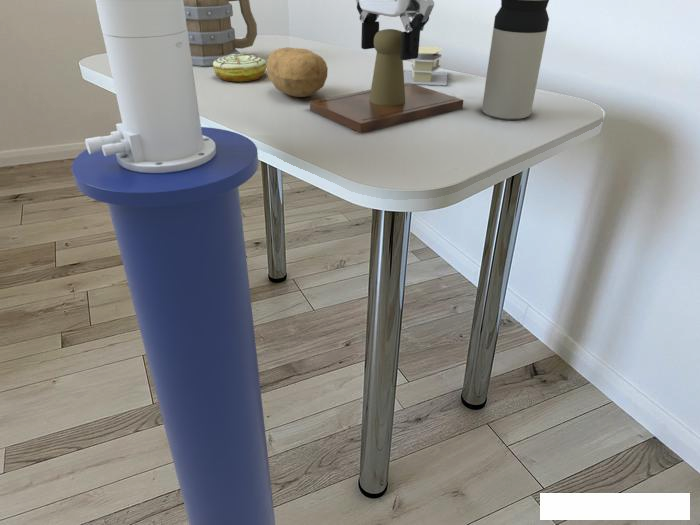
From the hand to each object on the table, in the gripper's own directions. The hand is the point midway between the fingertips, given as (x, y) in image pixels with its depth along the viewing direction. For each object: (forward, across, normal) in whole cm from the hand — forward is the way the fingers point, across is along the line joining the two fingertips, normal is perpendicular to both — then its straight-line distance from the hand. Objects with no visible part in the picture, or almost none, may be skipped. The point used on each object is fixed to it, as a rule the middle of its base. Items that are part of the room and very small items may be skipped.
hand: (388, 53), depth 87 cm
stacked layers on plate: (+9, -12, +20) cm, 25 cm away
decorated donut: (+9, -34, -10) cm, 37 cm away
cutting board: (+9, 0, 0) cm, 9 cm away
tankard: (+9, -51, -5) cm, 52 cm away
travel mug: (+9, +13, +15) cm, 22 cm away
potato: (+9, -16, -8) cm, 20 cm away
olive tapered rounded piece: (+8, 0, 0) cm, 8 cm away
